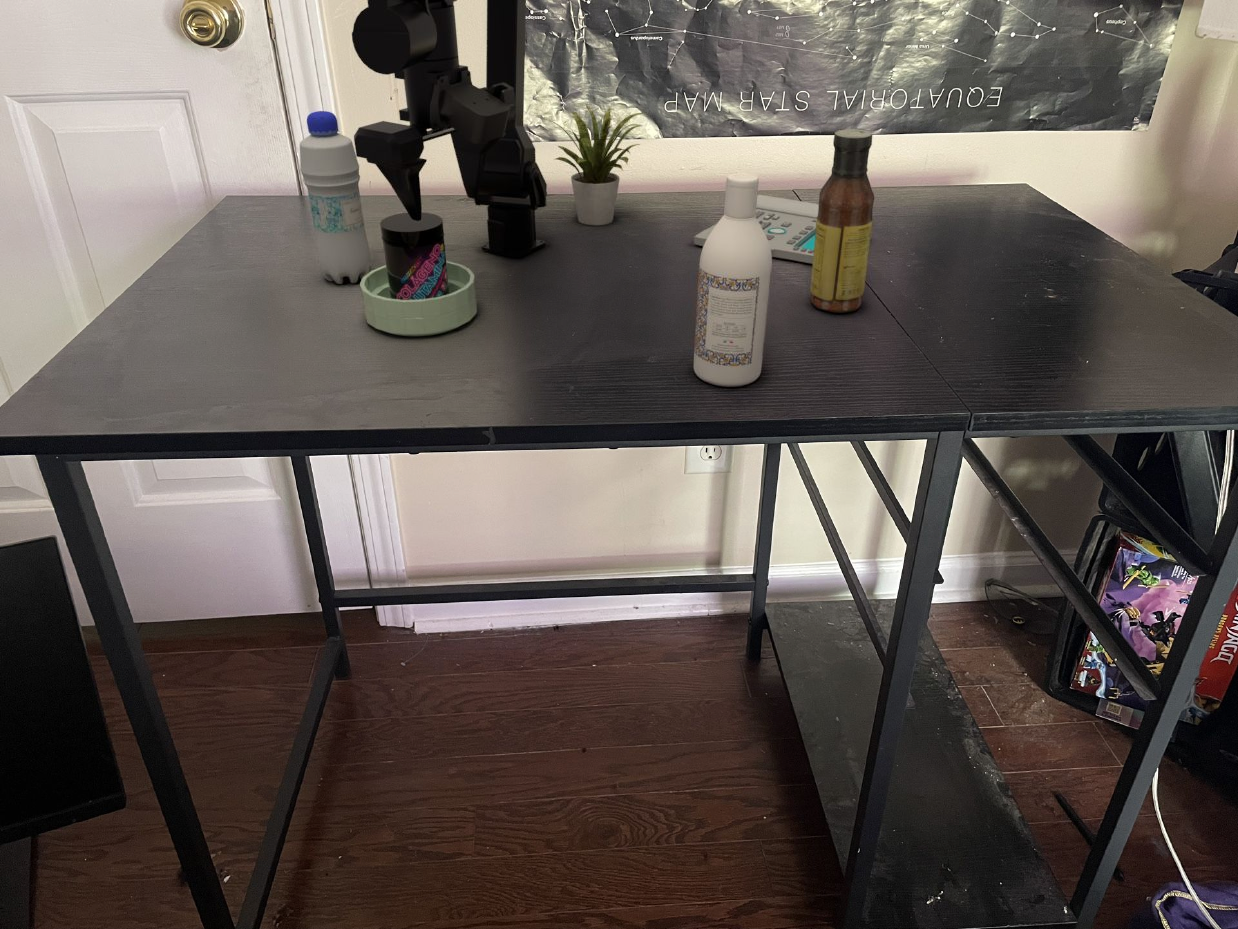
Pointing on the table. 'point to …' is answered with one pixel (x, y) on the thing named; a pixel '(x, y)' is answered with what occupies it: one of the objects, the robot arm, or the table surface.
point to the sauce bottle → (843, 226)
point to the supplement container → (415, 256)
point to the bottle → (334, 199)
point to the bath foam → (733, 291)
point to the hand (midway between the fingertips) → (445, 208)
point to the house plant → (596, 169)
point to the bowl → (419, 304)
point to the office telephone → (783, 227)
